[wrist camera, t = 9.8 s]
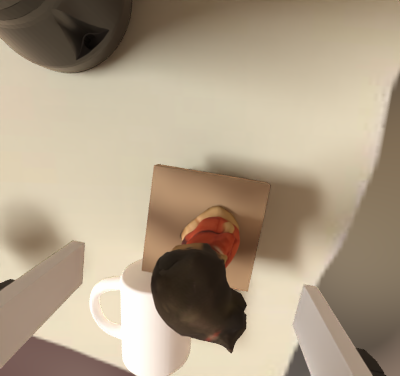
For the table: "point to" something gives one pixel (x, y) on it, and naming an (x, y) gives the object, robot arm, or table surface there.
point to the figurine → (201, 281)
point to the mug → (140, 325)
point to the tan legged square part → (199, 202)
